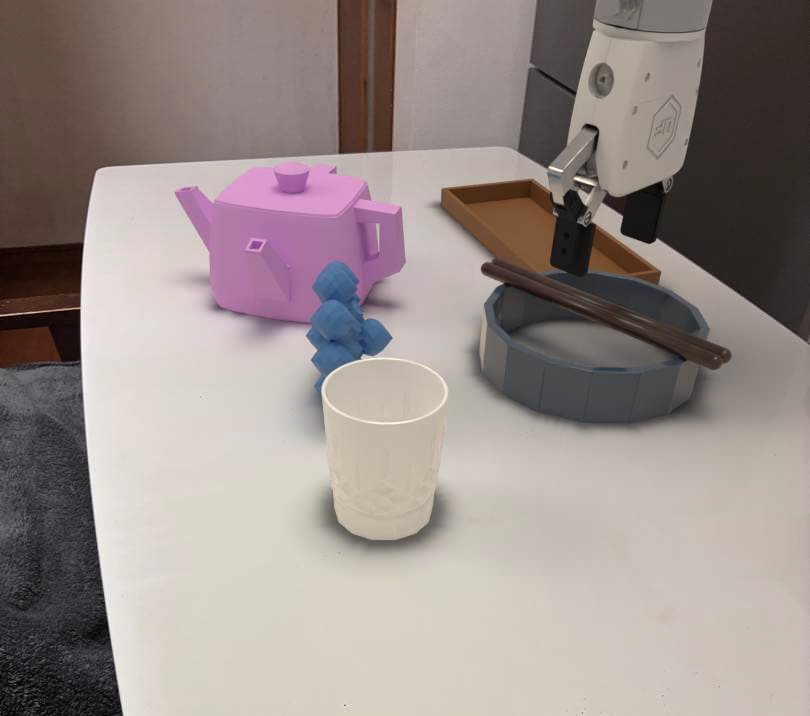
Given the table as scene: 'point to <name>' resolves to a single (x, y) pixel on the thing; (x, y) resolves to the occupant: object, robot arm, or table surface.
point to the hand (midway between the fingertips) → (603, 254)
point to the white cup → (384, 444)
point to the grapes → (341, 323)
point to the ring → (579, 384)
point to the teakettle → (292, 237)
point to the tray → (531, 228)
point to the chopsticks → (609, 314)
